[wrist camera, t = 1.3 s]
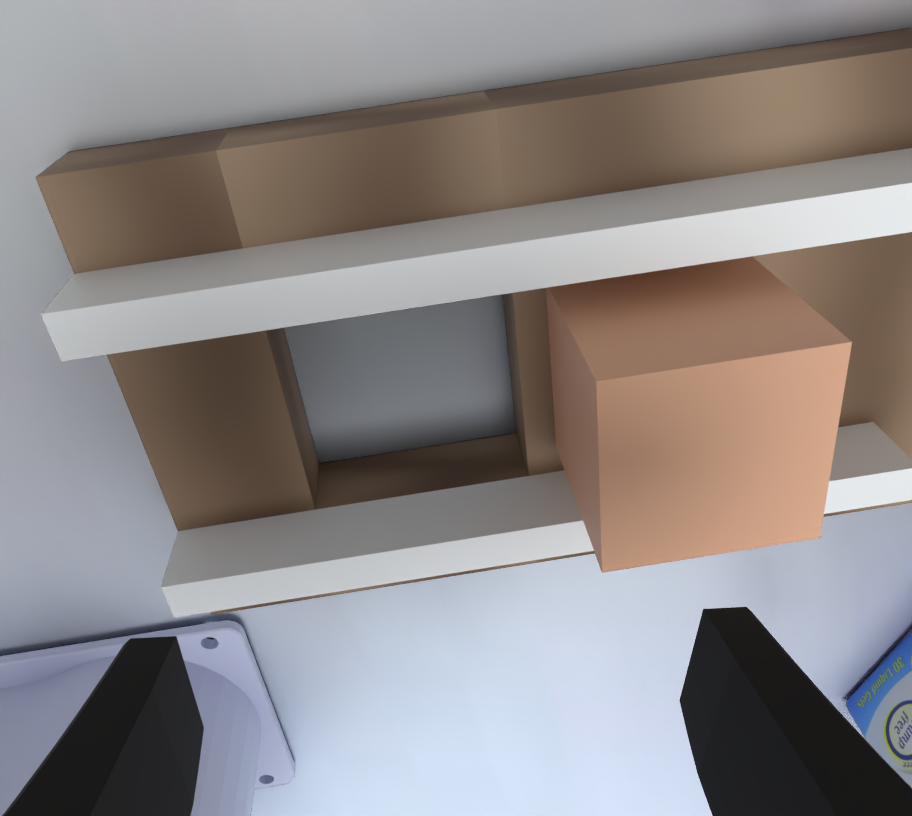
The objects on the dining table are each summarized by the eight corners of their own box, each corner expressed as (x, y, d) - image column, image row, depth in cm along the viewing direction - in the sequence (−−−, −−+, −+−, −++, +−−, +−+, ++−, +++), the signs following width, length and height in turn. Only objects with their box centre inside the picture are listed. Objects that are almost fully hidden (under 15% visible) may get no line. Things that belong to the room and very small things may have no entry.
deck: (222, 564, 23) (211, 614, 22) (68, 152, 17) (35, 177, 15) (1047, 433, 24) (1100, 472, 22) (1197, -14, 17) (1288, -8, 16)
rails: (189, 560, 20) (173, 617, 19) (74, 273, 16) (40, 314, 15) (867, 452, 21) (911, 500, 19) (925, 145, 17) (990, 171, 15)
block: (556, 447, 20) (601, 572, 16) (545, 280, 17) (596, 381, 14) (732, 420, 20) (820, 537, 16) (745, 250, 18) (852, 342, 14)
